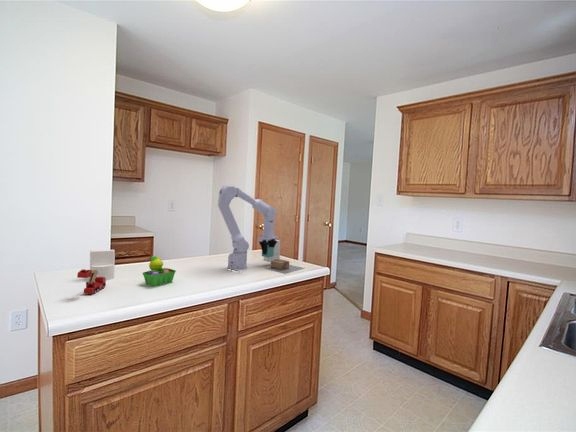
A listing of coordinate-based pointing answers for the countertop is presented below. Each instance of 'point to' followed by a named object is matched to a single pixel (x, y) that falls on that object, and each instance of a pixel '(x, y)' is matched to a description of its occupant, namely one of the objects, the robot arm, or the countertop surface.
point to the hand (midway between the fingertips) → (267, 253)
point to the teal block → (269, 252)
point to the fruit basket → (158, 273)
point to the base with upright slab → (103, 263)
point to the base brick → (279, 264)
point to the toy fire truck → (92, 281)
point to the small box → (274, 253)
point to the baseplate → (291, 269)
